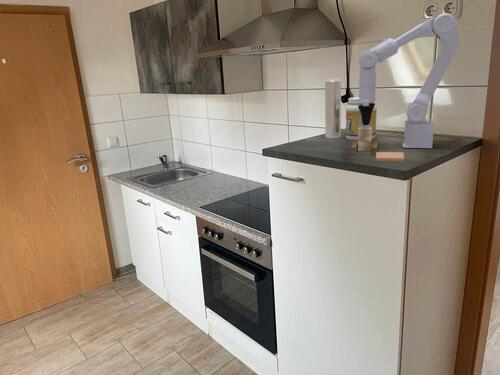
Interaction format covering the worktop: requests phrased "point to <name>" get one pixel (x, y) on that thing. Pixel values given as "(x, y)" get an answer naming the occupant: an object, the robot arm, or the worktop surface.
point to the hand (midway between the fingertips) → (366, 124)
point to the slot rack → (355, 147)
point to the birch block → (364, 138)
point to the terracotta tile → (389, 156)
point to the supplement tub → (357, 119)
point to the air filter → (332, 108)
